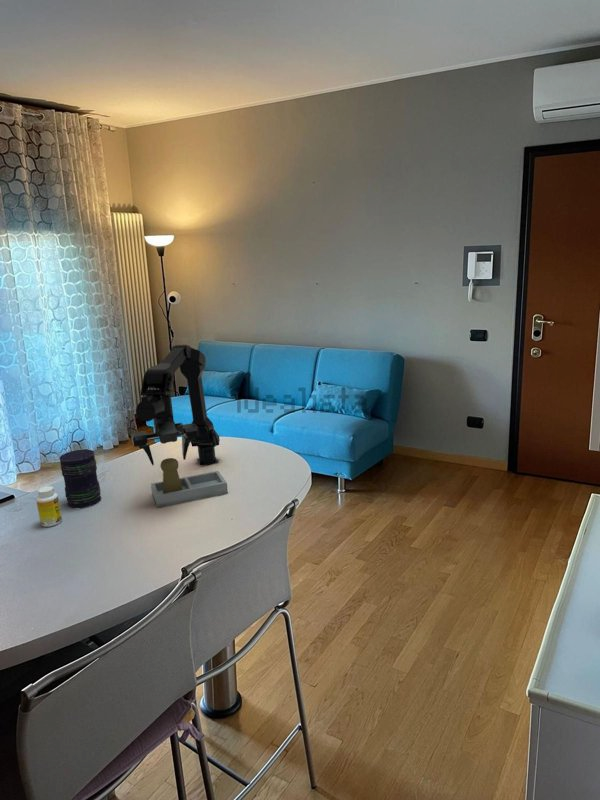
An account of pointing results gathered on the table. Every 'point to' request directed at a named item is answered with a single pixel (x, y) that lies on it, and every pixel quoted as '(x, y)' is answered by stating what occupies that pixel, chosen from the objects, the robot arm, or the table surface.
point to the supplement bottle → (48, 507)
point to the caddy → (191, 489)
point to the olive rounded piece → (170, 475)
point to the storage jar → (80, 478)
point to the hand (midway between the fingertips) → (168, 462)
